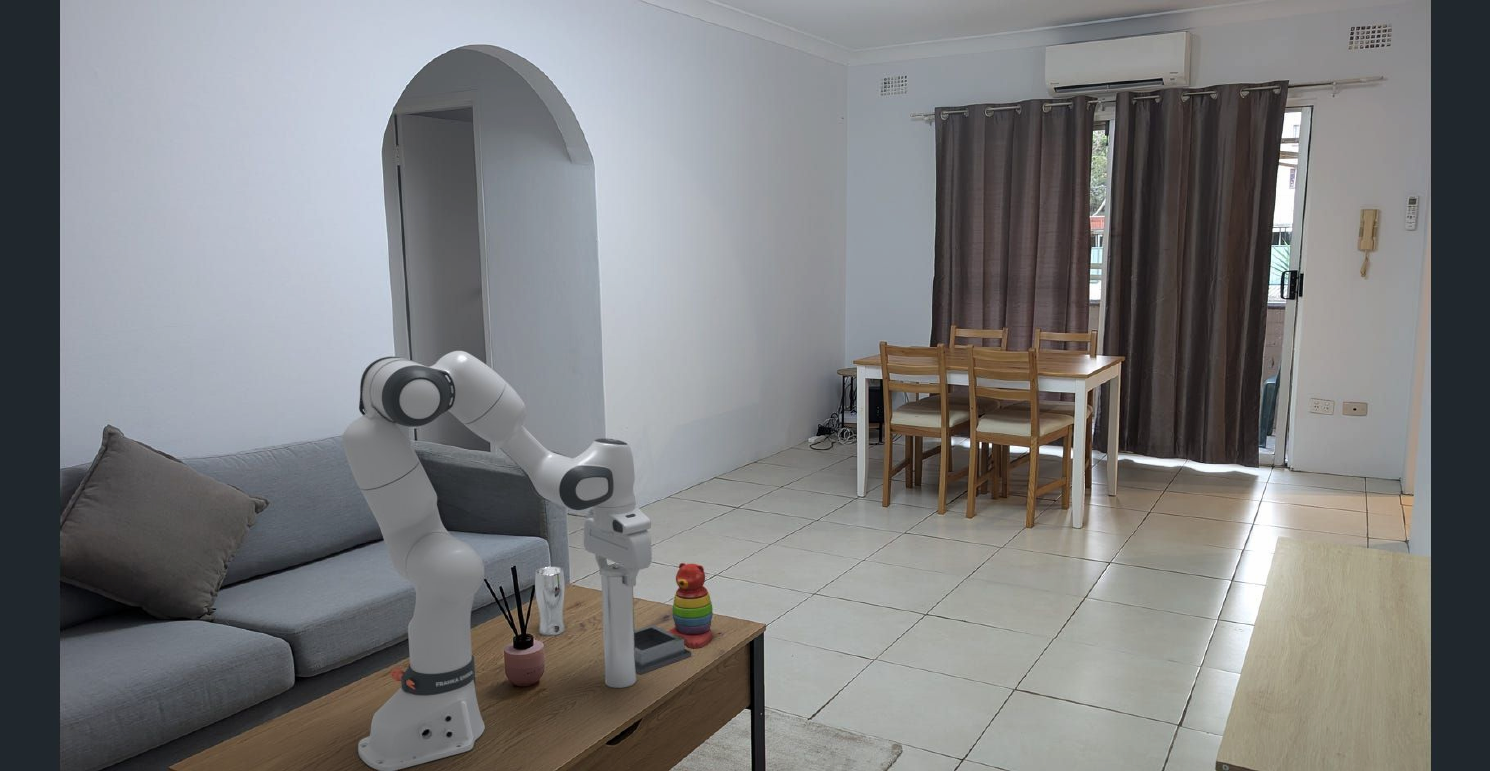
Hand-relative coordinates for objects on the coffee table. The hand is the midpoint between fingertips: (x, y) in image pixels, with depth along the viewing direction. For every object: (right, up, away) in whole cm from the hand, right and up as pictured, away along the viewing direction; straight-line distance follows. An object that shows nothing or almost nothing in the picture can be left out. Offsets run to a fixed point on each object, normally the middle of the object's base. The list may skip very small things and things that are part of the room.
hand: (617, 580), depth 202 cm
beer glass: (-20, -19, +31) cm, 42 cm away
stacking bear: (+14, -19, +26) cm, 35 cm away
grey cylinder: (0, -22, +3) cm, 22 cm away
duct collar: (+5, -20, +16) cm, 26 cm away
